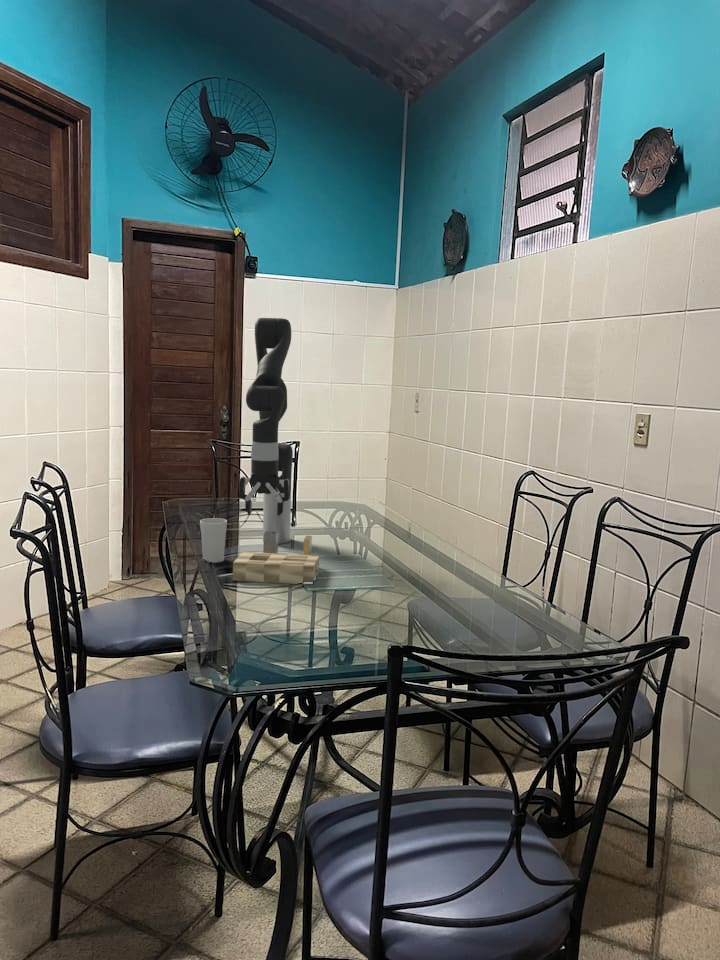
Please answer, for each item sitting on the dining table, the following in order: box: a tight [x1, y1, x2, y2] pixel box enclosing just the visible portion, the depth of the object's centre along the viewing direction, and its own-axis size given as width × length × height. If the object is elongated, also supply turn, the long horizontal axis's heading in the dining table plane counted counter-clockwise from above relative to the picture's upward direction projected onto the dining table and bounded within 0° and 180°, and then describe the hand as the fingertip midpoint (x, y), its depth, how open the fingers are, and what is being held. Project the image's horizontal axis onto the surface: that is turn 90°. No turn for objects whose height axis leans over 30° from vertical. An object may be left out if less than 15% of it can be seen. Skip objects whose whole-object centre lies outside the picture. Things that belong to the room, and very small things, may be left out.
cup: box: [199, 517, 228, 564], centre depth 208 cm, size 8×8×12 cm
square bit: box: [262, 531, 279, 554], centre depth 204 cm, size 4×4×10 cm
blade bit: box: [303, 535, 313, 555], centre depth 203 cm, size 5×2×9 cm, turn 176°
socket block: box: [232, 551, 320, 585], centre depth 193 cm, size 12×22×5 cm, turn 86°
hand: (264, 514), depth 196 cm, fingers open, 8 cm apart
